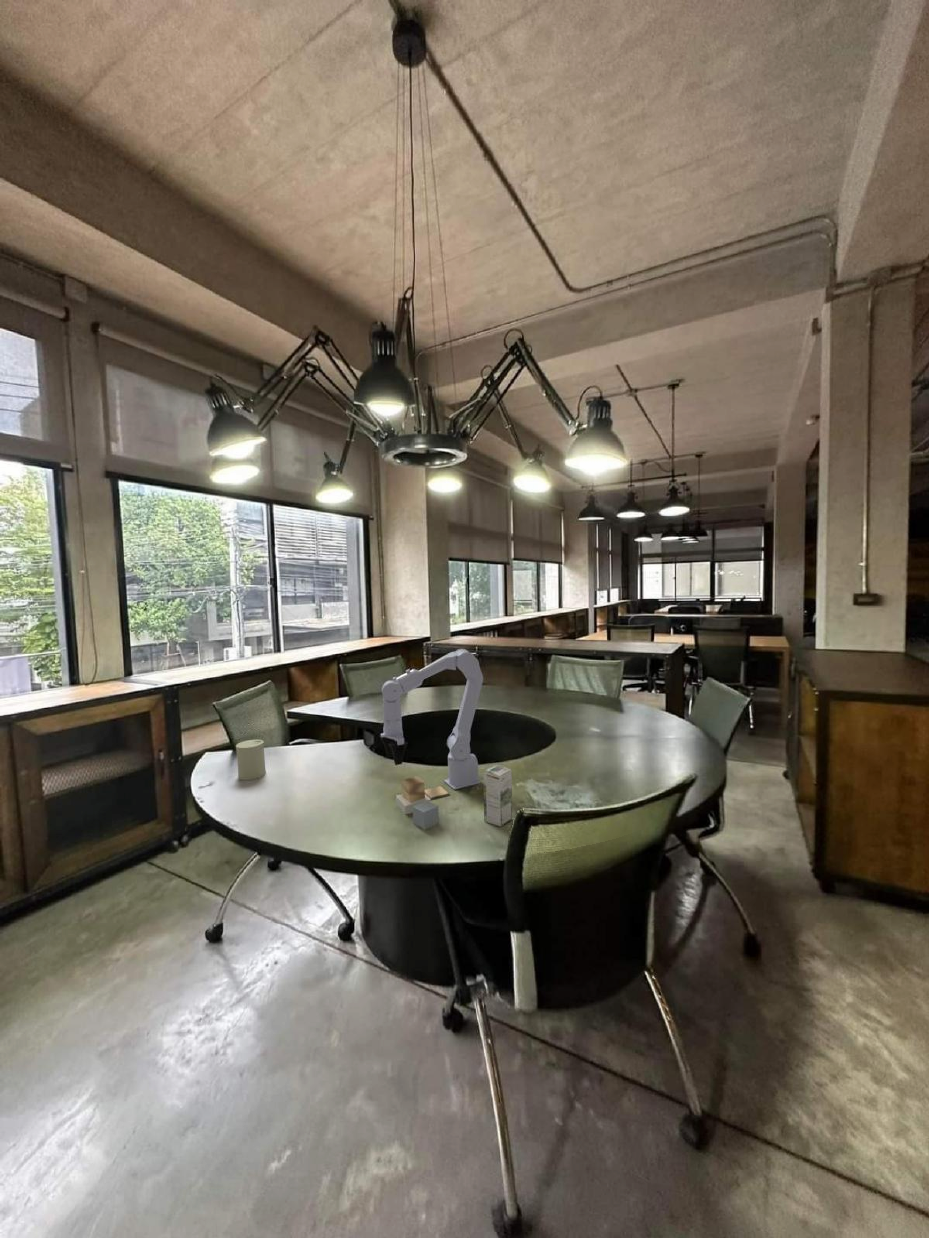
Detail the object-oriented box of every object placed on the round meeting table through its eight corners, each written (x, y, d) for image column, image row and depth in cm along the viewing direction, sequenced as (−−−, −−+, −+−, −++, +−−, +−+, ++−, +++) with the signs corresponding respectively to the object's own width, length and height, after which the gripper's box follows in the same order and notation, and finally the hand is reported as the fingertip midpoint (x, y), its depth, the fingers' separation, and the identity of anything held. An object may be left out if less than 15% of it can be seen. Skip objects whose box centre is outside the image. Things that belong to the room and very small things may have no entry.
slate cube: (427, 817, 140) (426, 800, 139) (438, 823, 136) (438, 806, 136) (413, 823, 137) (412, 806, 136) (424, 830, 133) (423, 812, 132)
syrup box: (496, 813, 141) (494, 764, 139) (513, 819, 137) (511, 768, 136) (483, 821, 136) (482, 770, 135) (501, 827, 132) (499, 775, 131)
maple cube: (417, 791, 151) (416, 776, 150) (424, 797, 147) (424, 781, 146) (402, 796, 148) (401, 780, 148) (409, 802, 144) (408, 785, 144)
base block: (420, 798, 153) (420, 789, 153) (430, 809, 146) (430, 799, 145) (396, 805, 149) (395, 795, 149) (405, 815, 142) (404, 805, 142)
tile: (441, 787, 160) (441, 785, 160) (450, 795, 154) (450, 793, 154) (421, 792, 157) (421, 790, 157) (430, 800, 151) (430, 798, 150)
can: (270, 774, 176) (268, 741, 175) (244, 782, 169) (242, 748, 168) (259, 767, 182) (257, 736, 181) (233, 775, 176) (231, 742, 175)
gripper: (373, 715, 161) (375, 755, 162) (387, 726, 148) (389, 770, 150) (394, 712, 164) (396, 751, 166) (409, 722, 152) (411, 765, 153)
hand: (394, 760), depth 158 cm, fingers open, 7 cm apart
